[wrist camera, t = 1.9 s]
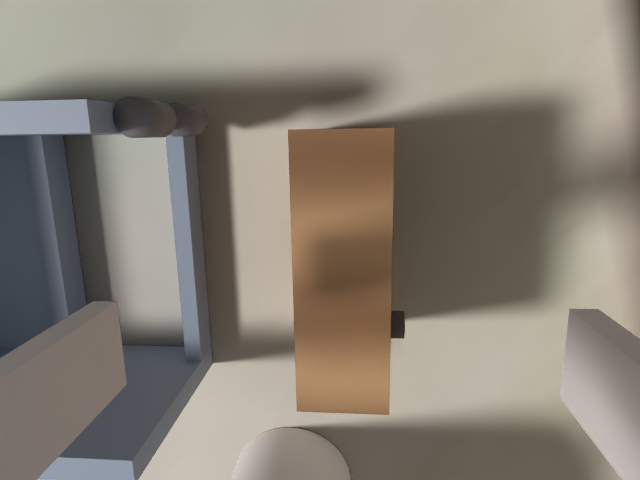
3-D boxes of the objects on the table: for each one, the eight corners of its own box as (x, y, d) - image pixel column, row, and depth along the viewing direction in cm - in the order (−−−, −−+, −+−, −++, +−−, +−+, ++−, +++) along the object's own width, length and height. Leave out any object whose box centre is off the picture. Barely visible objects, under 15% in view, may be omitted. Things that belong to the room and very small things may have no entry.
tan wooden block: (314, 130, 27) (288, 129, 17) (399, 129, 27) (422, 127, 17) (317, 320, 30) (296, 411, 20) (395, 322, 29) (412, 415, 20)
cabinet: (235, 364, 31) (169, 486, 20) (-35, 356, 33) (-226, 465, 22) (219, 108, 27) (128, 92, 16) (-85, 114, 29) (-346, 104, 18)
